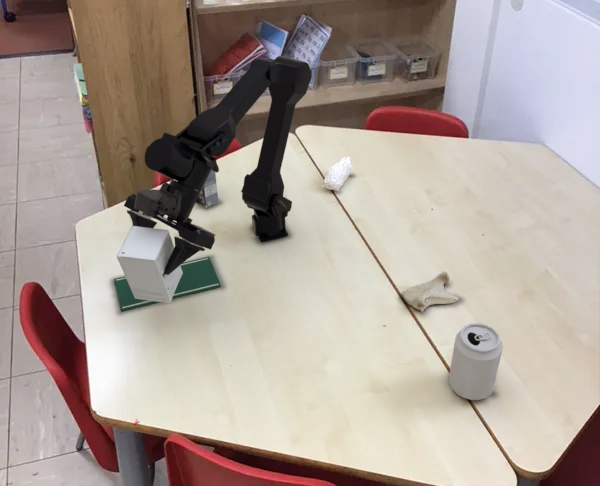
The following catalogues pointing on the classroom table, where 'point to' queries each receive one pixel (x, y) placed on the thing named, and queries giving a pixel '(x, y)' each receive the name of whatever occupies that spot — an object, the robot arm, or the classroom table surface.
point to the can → (475, 361)
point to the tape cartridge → (209, 191)
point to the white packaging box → (149, 264)
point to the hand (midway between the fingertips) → (148, 263)
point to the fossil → (430, 293)
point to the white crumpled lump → (338, 174)
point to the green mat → (192, 281)
